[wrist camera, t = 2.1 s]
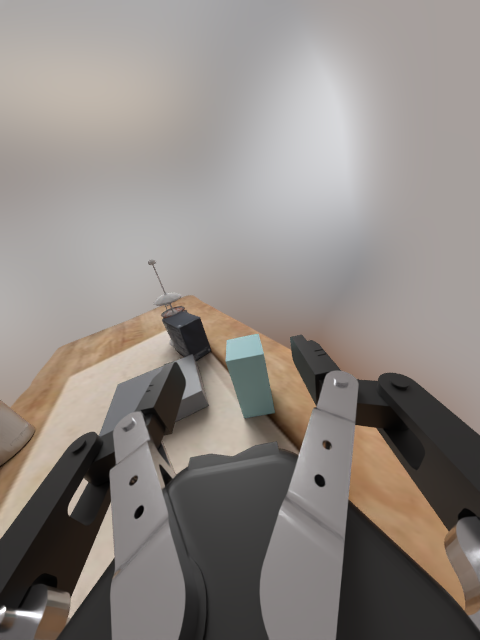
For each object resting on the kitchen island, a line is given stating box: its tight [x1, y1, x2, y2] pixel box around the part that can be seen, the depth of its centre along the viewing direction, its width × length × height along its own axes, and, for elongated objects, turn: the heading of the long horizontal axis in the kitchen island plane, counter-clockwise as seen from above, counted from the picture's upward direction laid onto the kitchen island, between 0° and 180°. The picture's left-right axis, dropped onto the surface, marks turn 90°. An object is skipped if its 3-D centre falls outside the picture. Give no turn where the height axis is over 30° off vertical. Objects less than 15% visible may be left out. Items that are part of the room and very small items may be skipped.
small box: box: [163, 311, 211, 361], centre depth 46 cm, size 11×6×10 cm, turn 44°
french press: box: [148, 260, 188, 346], centre depth 51 cm, size 10×12×25 cm
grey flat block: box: [99, 354, 209, 437], centre depth 33 cm, size 16×12×4 cm
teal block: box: [226, 334, 275, 418], centre depth 27 cm, size 5×5×12 cm
